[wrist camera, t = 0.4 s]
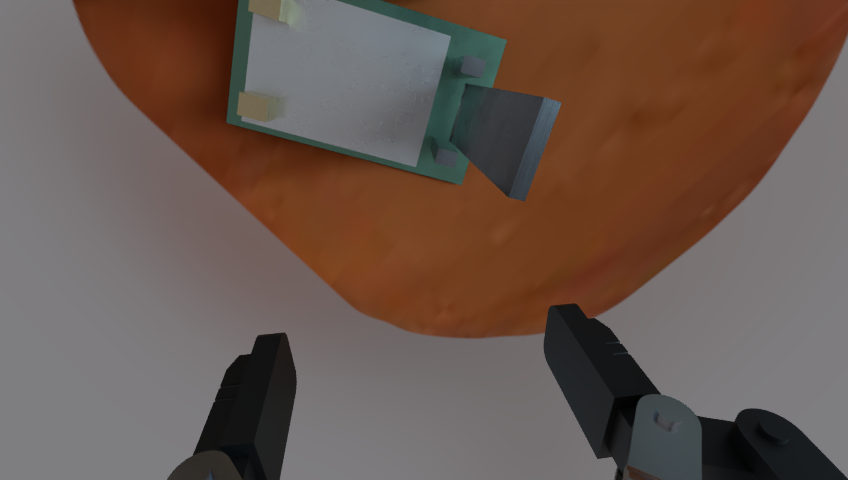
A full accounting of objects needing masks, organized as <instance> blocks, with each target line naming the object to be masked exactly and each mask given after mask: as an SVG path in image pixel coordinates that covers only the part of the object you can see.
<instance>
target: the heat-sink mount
mask: <svg viewBox="0 0 848 480" xmlns="http://www.w3.org/2000/svg"><path fill="white" fill-rule="evenodd" d="M506 42H507V40H504V39H501V38H498V37H495V36H492V35H489V34H485V33H482V32H479V31H476V30H473V29H470V28H466V27H463V26H460V25H457V24H454V23H451V22H447V21H444V20H441V19H438V18H435V17H432V16H429V15H425V14H422V13H419V12H416V11H413V10H410V9H406V8H403V7H400V6H397V5H394V4H391V3H387V2H384V1H381V0H238V10H237V20H236V30H235V40H234V50H233V60H232V70H231V80H230V90H229V100H228V110H227V120H226V123H229V124H233V125H236V126H240V127H244V128H248V129H251V130H255V131H259V132H263V133H267V134H270V135H274V136H278V137H282V138H285V139H289V140H293V141H297V142H301V143H304V144H308V145H312V146H316V147H319V148H323V149H327V150H331V151H335V152H338V153H342V154H346V155H350V156H353V157H357V158H361V159H365V160H369V161H372V162H376V163H380V164H384V165H387V166H391V167H395V168H399V169H402V170H406V171H410V172H414V173H418V174H421V175H425V176H429V177H433V178H436V179H440V180H444V181H448V182H452V183H455V184H459V185H462V182H463V179H464V176H465V172H466V169H467V166H468V163H469V159H468V158H467V157H466V156H465V155H464V154H463V153H462V152H461V151H459V150H458V149H457V148H456V147H455V146H454V145H453V144H452V143H451V142H449V138H450V135H451V132H452V128H453V125H454V121H455V118H456V114H457V111H458V107H459V104H460V101H461V97H462V94H463V90H464V87H465V83H467V84H473V85H478V86H484V87H489V88H492V86H493V83H494V80H495V77H496V74H497V70H498V67H499V64H500V61H501V58H502V54H503V51H504V48H505V45H506Z"/></svg>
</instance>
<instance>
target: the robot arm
mask: <svg viewBox="0 0 848 480" xmlns="http://www.w3.org/2000/svg"><path fill="white" fill-rule="evenodd" d="M544 353H545V358H546V361H547V363H548V365H549V367H550V369H551V371H552V373H553V375H554V376H555V379H556V380H557V382H558V384H559V386H560V388H561V390H562V392H563V394H564V396H565V398H566V400H567V401H568V403H569V405H570V407H571V409H572V411H573V413H574V415H575V417H576V419H577V421H578V422H579V424H580V426H581V428H582V430H583V432H584V434H585V436H586V438H587V440H588V442H589V443H590V446H591V447H592V449H593V451H594V453H595V455H596V457H597V459H600V458H607V457H613V459H614V461H615V462H616V464H617V469H616V472H615V477H614V480H848V479H847V477H846V476H845V475H844V474H843V473H842V472H841V471H840V470H839V469H838V468H837V467H836V466H835V465H834V464H833V463H832V462H831V461H830V460H829V459H828V458H827V457H826V456H825V455H824V454H823V453H822V452H821V451H820V450H819V449H818V448H817V447H816V446H815V445H814V444H813V443H812V442H811V441H810V440H809V439H808V438H807V437H806V435H805V434H804V433H803V432H802V431H800V430H799V429H798V428H797V427H796V426H795V425H793V424H792V423H791V422H789V421H788V420H786V419H785V418H783V417H781V416H779V415H777V414H774V413H772V412H769V411H766V410H762V409H745V410H742V411H741V412H740V413H739V414H738V415H737V417H736V419H735V421H734V422H731V421H725V420H718V419H711V418H705V417H700V416H696V415H695V413H694V412H693V411H692V410H691V409H690V408H689V407H687V406H686V405H685V404H683V403H682V402H680V401H678V400H676V399H674V398H672V397H669V396H666V395H661V394H660V392H659V391H658V390H657V388H656V387H655V386H654V385H653V384H652V382H651V381H650V380H649V378H648V377H647V376H646V374H645V373H644V372H643V371H642V369H641V368H640V367H639V365H638V364H637V363H636V362H635V360H634V359H633V358H632V356H631V355H629V354H628V351H627V350H626V349H625V347H624V346H623V345H622V344H620V341H619V340H618V338H617V337H616V336H615V335H614V333H613V332H612V331H611V330H610V328H608V327H607V326H605V325H604V324H602V323H601V322H599V321H598V320H597V319H595V318H591V319H588V318H587V317H586V316H585V314H584V313H583V312H582V310H581V309H580V307H579V306H578V305H577V304H564V305H554V306H551V307H550V308H549V311H548V317H547V324H546V331H545V338H544ZM296 383H297V380H296V370H295V366H294V362H293V358H292V354H291V350H290V346H289V341H288V338H287V335H286V333H275V334H265V335H258V337H257V338H256V341H255V344H254V347H253V350H252V353H251V354H247V355H240V356H239V357H238V358H237V359H236V360H235V361H234V362H233V363H232V364H231V365H230V367H229V368H228V369H227V370H226V373H225V375H224V378H223V380H222V383H221V388H220V389H219V391H218V393H217V396H216V398H215V402H214V403H213V406H212V409H211V411H210V414H209V416H208V419H207V421H206V424H205V426H204V429H203V431H202V434H201V436H200V439H199V442H198V444H197V446H196V449H195V451H194V454H193V456H191V457H190V458H188V459H186V460H185V461H183V462H182V463H181V464H180V465H179V466H177V467H176V469H175V470H174V471H173V472H172V473H171V474H170V476H169V477H168V479H167V480H280V474H281V469H282V464H283V459H284V453H285V448H286V442H287V436H288V432H289V426H290V420H291V415H292V410H293V405H294V399H295V394H296V385H297V384H296Z"/></svg>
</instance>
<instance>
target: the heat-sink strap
mask: <svg viewBox="0 0 848 480" xmlns="http://www.w3.org/2000/svg"><path fill="white" fill-rule="evenodd" d="M560 105H561V102H557V101H554V100H551V99H548V98H544V97H539V96H533V95H528V94H522V93H517V92H511V91H506V90H500V89H495V88H489V87H484V86H478V85H473V84H467V83H465V87H464V90H463V94H462V97H461V101H460V104H459V107H458V111H457V114H456V118H455V121H454V125H453V128H452V132H451V135H450V138H449V142H451V143H452V144H453V145H454V146H455V147H456V148H457V149H458V150H459V151H461V152H462V153H463V154H464V155H465V156H466V157H467V158H468V159H469V160H470V161H471V162H472V163H473V164H474V165H475V166H476V167H477V168H478V169H479V170H480V171H481V172H482V173H484V174H485V175H486V176H487V177H488V178H489V179H490V180H491V181H492V182H493V183H494V184H495V185H496V186H497V187H498V188H499V189H500V190H501V191H502V192H503V193H504V194H506V195H507V196H508V197H509V198H513V199H517V200H521V201H525V199H526V196H527V193H528V191H529V188H530V185H531V183H532V180H533V177H534V175H535V172H536V169H537V167H538V164H539V161H540V159H541V156H542V153H543V151H544V148H545V145H546V143H547V140H548V137H549V135H550V132H551V129H552V127H553V124H554V121H555V119H556V116H557V113H558V111H559V108H560Z"/></svg>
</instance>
